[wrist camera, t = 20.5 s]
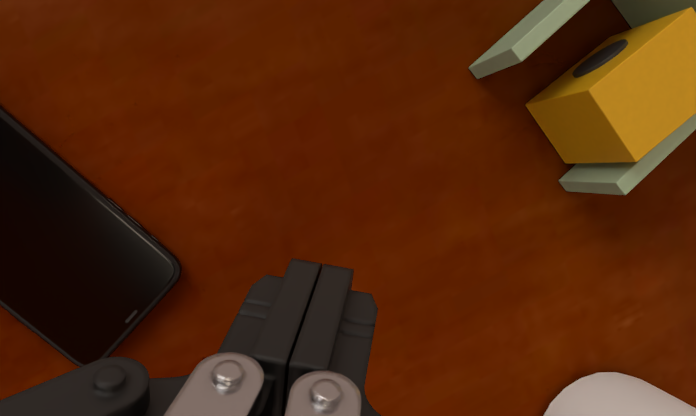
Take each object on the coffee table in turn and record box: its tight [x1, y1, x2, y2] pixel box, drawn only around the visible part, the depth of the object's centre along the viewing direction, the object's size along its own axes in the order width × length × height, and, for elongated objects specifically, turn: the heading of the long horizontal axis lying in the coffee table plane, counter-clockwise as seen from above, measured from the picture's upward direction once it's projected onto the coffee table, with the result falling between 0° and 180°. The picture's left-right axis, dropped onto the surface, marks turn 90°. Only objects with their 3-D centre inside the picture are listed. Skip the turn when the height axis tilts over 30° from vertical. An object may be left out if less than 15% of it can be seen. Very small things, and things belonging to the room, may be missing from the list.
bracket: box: [469, 0, 696, 195], centre depth 34 cm, size 11×10×7 cm
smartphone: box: [0, 106, 182, 367], centre depth 32 cm, size 8×1×16 cm
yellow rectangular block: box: [525, 7, 696, 163], centre depth 34 cm, size 7×5×7 cm, turn 128°
